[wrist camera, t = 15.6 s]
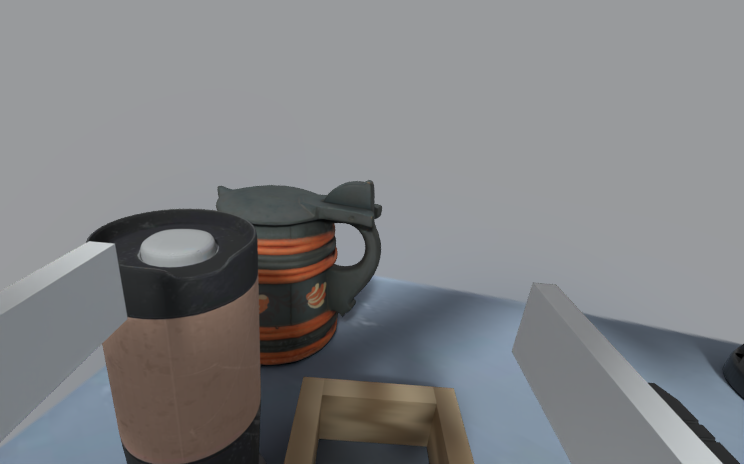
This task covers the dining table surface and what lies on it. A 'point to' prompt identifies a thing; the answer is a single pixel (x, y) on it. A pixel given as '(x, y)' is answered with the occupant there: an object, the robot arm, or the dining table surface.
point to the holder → (377, 418)
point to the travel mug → (186, 337)
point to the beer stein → (304, 261)
